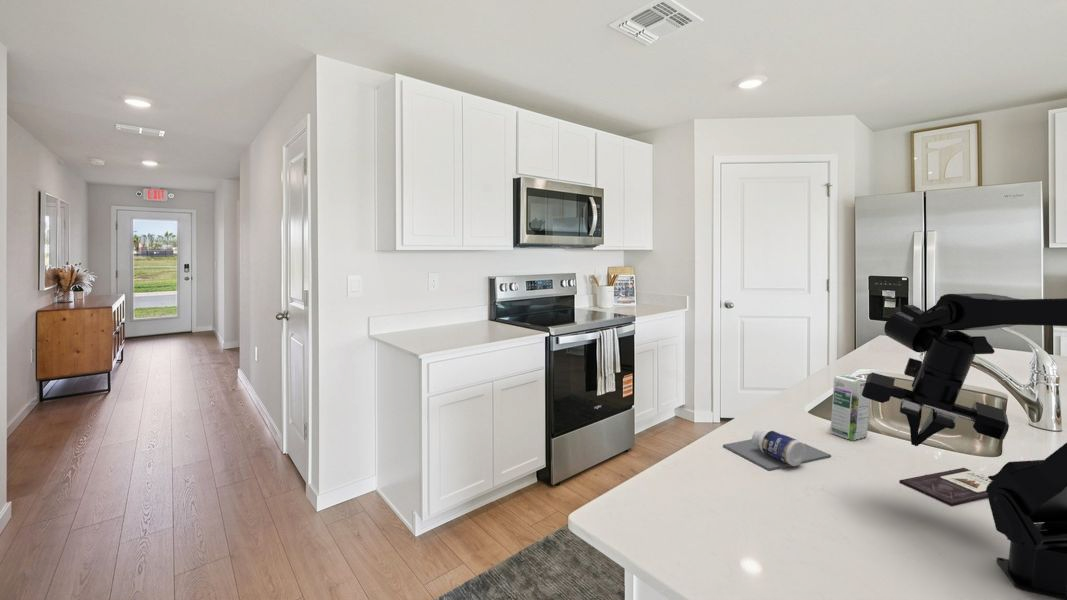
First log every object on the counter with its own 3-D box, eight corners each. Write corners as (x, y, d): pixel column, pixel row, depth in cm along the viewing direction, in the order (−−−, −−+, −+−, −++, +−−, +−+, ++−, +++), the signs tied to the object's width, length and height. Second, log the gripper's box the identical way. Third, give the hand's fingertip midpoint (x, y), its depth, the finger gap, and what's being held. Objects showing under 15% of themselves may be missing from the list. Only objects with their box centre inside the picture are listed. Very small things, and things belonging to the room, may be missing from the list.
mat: (830, 457, 104) (831, 454, 104) (769, 470, 97) (769, 468, 97) (780, 435, 116) (780, 433, 116) (722, 446, 109) (722, 444, 109)
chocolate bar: (899, 480, 92) (963, 467, 97) (899, 484, 92) (963, 472, 98) (951, 503, 84) (1019, 488, 89) (951, 508, 84) (1018, 493, 89)
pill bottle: (785, 460, 96) (745, 443, 105) (799, 470, 99) (759, 453, 107) (796, 436, 97) (756, 421, 106) (809, 447, 99) (769, 431, 108)
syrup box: (829, 433, 117) (832, 376, 116) (844, 429, 120) (847, 373, 118) (852, 441, 112) (856, 381, 111) (868, 437, 115) (872, 378, 113)
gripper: (1017, 366, 78) (981, 444, 83) (880, 333, 88) (857, 404, 94) (1026, 395, 70) (986, 478, 75) (874, 354, 80) (849, 430, 86)
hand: (914, 444), depth 83 cm, fingers closed
